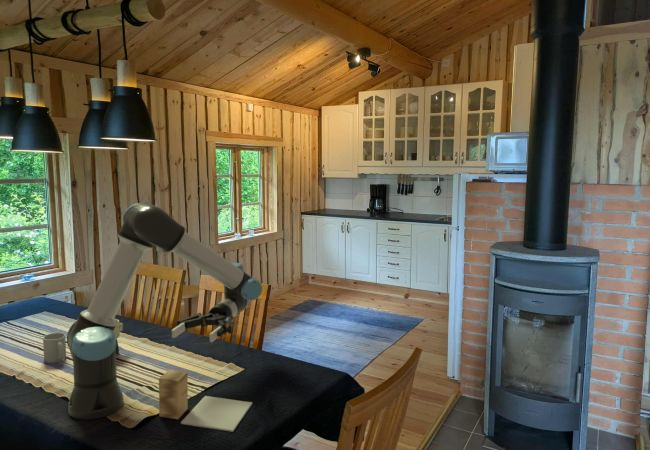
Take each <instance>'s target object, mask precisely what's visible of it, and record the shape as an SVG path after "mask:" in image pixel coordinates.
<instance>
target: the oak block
mask: <svg viewBox="0 0 650 450" xmlns="http://www.w3.org/2000/svg"><path fill="white" fill-rule="evenodd" d="M188 375H189V373H188V371H181V370H175V369H174V370H173V369H168V370H167V371H166V372H165V373H164V374H163V375H161V376H160V377H159V378H158V405H159V407H158V409H159V410H158V411H159V413H158V414H159V415H158V417H161V418H167V419H175V420H179V419H180V418H182V416H183V415H184V413H186V411H188V407H189V405H188V400H189V399H188V397H189V395H188V392H189V391H188V389H189V388H188V385H189V384H188V383H189V382H188V380H189V379H188V377H189V376H188Z"/></svg>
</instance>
